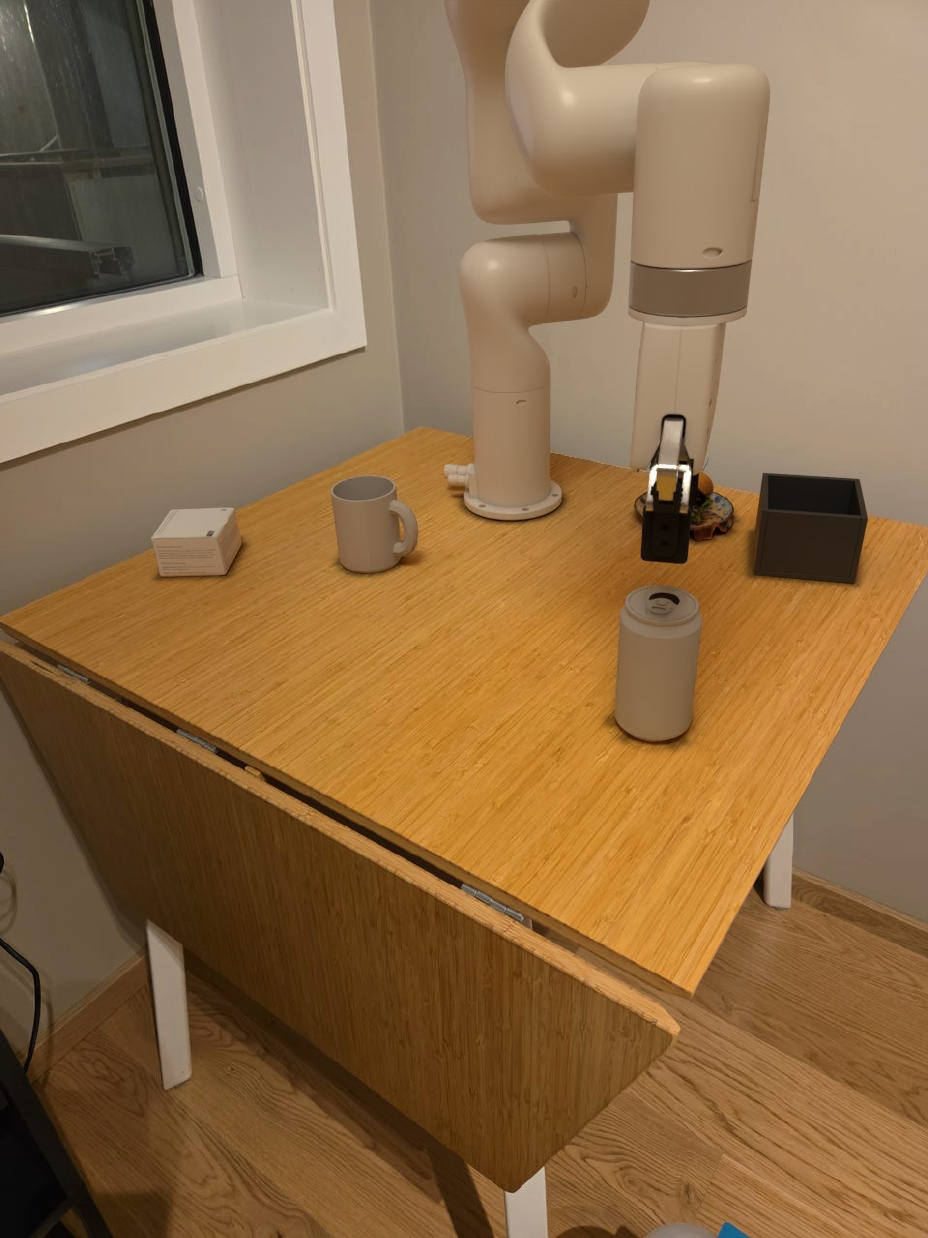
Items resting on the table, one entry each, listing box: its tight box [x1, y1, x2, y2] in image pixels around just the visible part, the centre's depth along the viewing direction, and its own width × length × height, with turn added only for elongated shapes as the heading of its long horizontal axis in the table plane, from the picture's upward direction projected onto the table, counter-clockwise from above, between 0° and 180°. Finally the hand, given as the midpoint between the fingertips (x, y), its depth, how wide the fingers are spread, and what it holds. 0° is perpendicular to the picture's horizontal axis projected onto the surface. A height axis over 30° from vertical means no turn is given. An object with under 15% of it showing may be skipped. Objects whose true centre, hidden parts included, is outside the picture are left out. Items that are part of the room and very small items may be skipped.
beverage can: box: [614, 584, 704, 743], centre depth 73 cm, size 6×6×12 cm
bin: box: [752, 472, 869, 585], centre depth 98 cm, size 10×10×8 cm
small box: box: [150, 507, 242, 578], centre depth 105 cm, size 8×8×5 cm
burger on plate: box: [633, 458, 735, 542], centre depth 108 cm, size 12×12×8 cm
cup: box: [330, 474, 419, 574], centre depth 101 cm, size 7×10×9 cm
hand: (669, 530), depth 67 cm, fingers open, 9 cm apart
